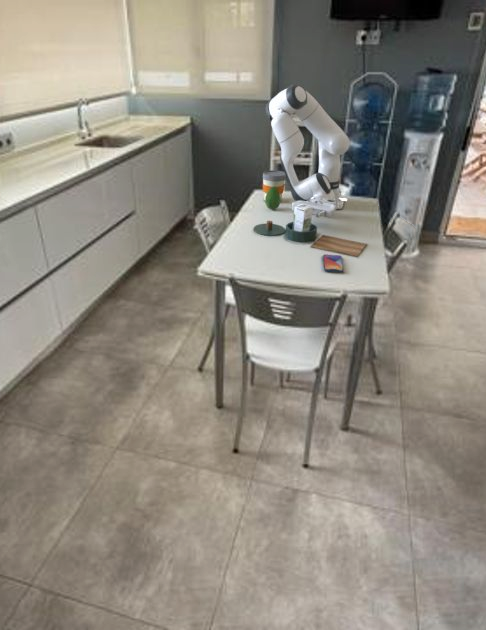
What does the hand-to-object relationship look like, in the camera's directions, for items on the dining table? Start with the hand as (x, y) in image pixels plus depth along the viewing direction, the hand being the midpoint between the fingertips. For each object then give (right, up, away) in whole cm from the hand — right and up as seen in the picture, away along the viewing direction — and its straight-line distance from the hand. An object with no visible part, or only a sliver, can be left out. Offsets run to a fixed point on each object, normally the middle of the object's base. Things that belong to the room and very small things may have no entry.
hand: (307, 213), depth 202 cm
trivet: (+12, -16, -8) cm, 21 cm away
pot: (-3, -11, 0) cm, 12 cm away
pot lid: (-17, -6, +6) cm, 19 cm away
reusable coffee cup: (-11, +18, +46) cm, 51 cm away
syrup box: (-3, -11, 0) cm, 11 cm away
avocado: (-13, +10, +33) cm, 37 cm away
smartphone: (+6, -26, -24) cm, 36 cm away
